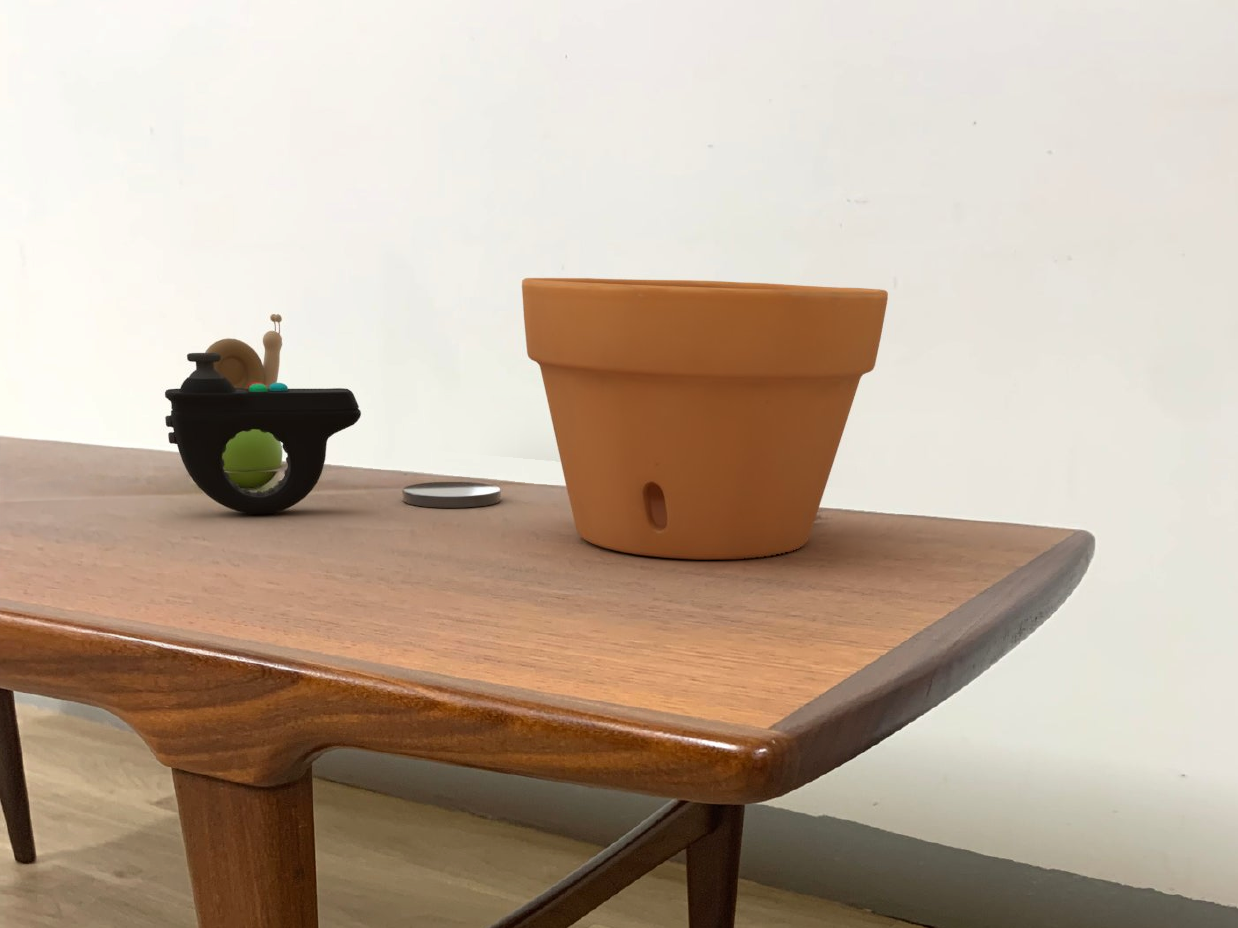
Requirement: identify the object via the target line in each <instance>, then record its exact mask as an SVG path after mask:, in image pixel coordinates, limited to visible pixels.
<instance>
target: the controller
mask: <svg viewBox="0 0 1238 928" xmlns="http://www.w3.org/2000/svg"><path fill="white" fill-rule="evenodd" d="M186 360H187V361H188V362H190V363H195V370H194V371H192V372H191V373H190V374H189V376H188V377H186V378H185V379H184V380H183V382H182V384H181V385H180V388H169V389H165V392H164V397H165V398H166V399H167V400H168V401H169V402H170V404H171V405H170V407H171V409H170V410H171V411H170V415H166V416H165V417H164V418H165V421H164V422H165V426H166V427H167V428H172V429H173V430H172V431H170V432H168V433H167V434H168V436H167V437H168V443H169V444H174V445H176V446H177V449H178V453H179V455H180V458H181V461H182V463H183V465H184V468H185V470H186V471H187V473H188V476H189V477H190V478H191V480H192V481H193V483H195V485H196V486H197V487H198V488H199V490H201V491H202V492H203V493H204V494H205V495H206V496H207V497H208V498H210V499H212V500H213V501H214V502H216V503H217V504H219V505H221V506H223V507H225V508H227V509H231V510H232V511H235V512H239V513H243V514H247V515H250V514H251V515H268V514H276V513H279V512H282V511H285V510H287V509H289V508H291V507H293V506H296V505H297V504H298V503H300V502H301V501H302V500H304V499H305V498H306V497H307V496H308V495H309V494H310V493H311V492H312V491H313V489H314V488H315V486H316V485H317V484H318V482H319V480H320V478H321V476H322V473H323V470H324V466H325V461H326V455H327V445H328V444H327V443H328V440H329V438H331V437H332V436H333V435H335V434H338V433H339V432H341V431H343V430H346V429H347V428H350V427H352V426H355V424H356V423H358V421H359V419H360V418H361V415H362V411H361V409H360V406H359V404H358V401H357V399H356V397H355V394H354V393H353V391H351V390H350V389H348V388H341V387H339V388H336V387H334V388H333V387H332V388H288V385H287V384H285V383H282V382H277V383H273V384H271V385H270V386H269V389H267V387H266V386H265V384H263V383H261V382H252V383H250V384H249V385H248V389H245V388H234V386H233V385H232V384H231V382H230V381H229V380H228V379H227V378H225V377H223V376H222V375H221V374H220V373H219V372H218V371H216V370H215V369H214V362H219V361H220V360H221V355H220V354H218V353H205V352H189V353H187V354H186ZM252 429H257V430H260V431H261V432H264V433H267V432H269V433H271V434H273V436H274V438H275V439H276V440H277V441H281V445H282V450H283V451H284V452H285V454H286V455H287V456H286V457H285V462H286V464H287V466H286V469H285V470H284V472H283V474H284V476H283V477H282V479H280V480H278V481H277V484H276V485H275V486H273V487H269V488H268V489H267V490H263V491H262V490H257V491H251V490H250V489H242V488H240V487H238V484H237V483H233V482H232V481H231V480H230V477H229V474H228V473H227V472H228V471H224V469H223V467H224V466H225V464H224V460H223V459H222V455H223V453H224V452H225V451H226V444H227V443H228V441H229V440H230V439H233V438H235V436H236V434H238V433H240V432H242V431H245V432H248V431H251V430H252Z"/></svg>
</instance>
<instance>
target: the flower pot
mask: <svg viewBox="0 0 1238 928" xmlns="http://www.w3.org/2000/svg"><path fill="white" fill-rule="evenodd" d="M521 292H522V309H523V322H524V323H523V324H524V334H525V345H526V354H527V356H528V358H529V359H530V360H531V361H533V362H536V363H537V365H539V369H540V373H541V377H542V382H543V387H544V391H545V396H546V400H547V405H548V410H549V413H550V419H551V423H552V426H553V431H554V436H555V442H556V446H557V450H558V454H559V459H560V464H561V469H562V473H563V477H564V481H565V487H566V491H567V496H568V500H569V503H570V508H571V512H572V516H573V522H574V525H575V530H576V532H577V534H578V535H579V536H580V537H581V538H582V539H583V540H584V541H586V542H588V543H590V544H592V545H595V546H597V547H601V548H604V549H607V550H611V551H616V552H620V553H626V554H632V555H639V556H647V557H655V558H666V559H679V560H681V559H682V560H744V558H745V559H756V557H758V558H765V557H764V556H766V557H772V556H771V555H773V556H777V555H776V554H779V555H782V554H781V553H783V554H786V553H785V552H788V553H791V552H794V551H797V550H798V549H801V548H802V547H803V546H805V545H806V544H807V542H808V540H809V539H810V536H811V532H812V530H813V527H814V524H815V521H816V518H817V515H818V511H819V508H820V505H821V502H822V499H823V496H824V493H825V489H826V487H827V483H828V481H829V477H830V475H831V471H832V468H833V465H834V462H835V459H836V456H837V452H838V449H839V446H840V445H841V440H842V437H843V434H844V431H845V428H846V425H847V421H848V418H849V415H850V413H851V409H852V406H853V403H854V400H855V397H856V393H857V390H858V387H859V385H860V380H861V379H862V377H863V375H865V374H868V373H871V372H872V371H873V370H874V368H875V367H876V363H877V358H878V353H879V348H880V342H881V339H882V332H883V327H884V322H885V317H886V311H887V306H888V305H887V304H888V300H889V292H888V291H887V290H885V289H881V288H880V289H879V288H867V287H866V288H864V287H835V286H834V287H833V286H818V285H817V286H815V285H797V284H782V283H768V282H767V283H766V282H741V281H740V282H739V281H723V280H692V279H691V280H688V279H687V280H686V279H685V280H684V279H631V278H630V279H629V278H628V279H627V278H624V279H623V278H591V277H590V278H589V277H526V278H524V279H522V281H521ZM800 547H801V548H800ZM796 549H797V550H796ZM793 550H794V551H793Z"/></svg>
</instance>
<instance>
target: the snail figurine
mask: <svg viewBox="0 0 1238 928" xmlns="http://www.w3.org/2000/svg"><path fill="white" fill-rule="evenodd" d="M269 318H270V321H271V322H273V324H274V330H268V331H267V332H265V333H264V334H263V337H262V345H263V348H264V355H263V356H264V357H263V362H262V359H261V358H260V356H259V354H258V352H256V350H255V349H254V348H253V347H252V346H250V345H249V343H247V342H244V341H242V340H240V339H237V338H229V337H228V338H222V339H219V340H217V341H214V342H213V343H212V344H211V345H209V346H208V347H207V349H206V350H205V351H204V353H218V354H220V355H221V360H220V361H219V362H214V369H215V370H216V371H218V372H219V373H220V374H221V375H222V376H223V377H225V378H227V379H228V380H229V381H230V382H231V384H232V385H233V386H234V388H245V389H248V385H249V384H250V383H252V382H261V383H263V384H265V386H266V387H267V389H269V386H270V385H271V384H273V383H278V378H279V372H280V361H281V350H282V347H283V337H282V335H281V322H282V320H283V317H282V316H281V314H279V313H277V314H276V313H272V314H271V315H270V316H269ZM276 323H277V324H278V332H277V326H276V325H277V324H276ZM282 445H283V444H282V442H281V441H277V440H276V439H275V438H274V436H273V434H271V433H269V432H267V433H264V432H261V431H260V430H257V429H252V430H251V431H248V432H245V431H242V432H240V433H238V434H236V436H235V438H233V439H230V440H229V441H228V443H227V444H226V451H225V452H224V453H223V455H222V459H223V460H224V464H225V466H224V467H223V469H224V471H225V472H227V473H228V474H229V477H230V480H231V481H232V482H233V483H237V484H238V487H240V488H242V489H244V490H245V489H248V490H252V489H253V490H254V489H257V488H260V487H262V486H265V485H266V484H268V483H270V481H272V480H273V479H274V477H275V476H276V475H277V474H278V472H279V470H276V469H279V468H281V466H282V463H283V462H282V461H283V447H282Z"/></svg>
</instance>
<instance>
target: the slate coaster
mask: <svg viewBox="0 0 1238 928" xmlns="http://www.w3.org/2000/svg"><path fill="white" fill-rule="evenodd" d="M401 495H402V501H403V502H404V503H405V504H408V505H411V506H417V507H422V508H423V507H424V508H435V509H436V508H437V509H465V508H480V507H486V506H491V505H496V504H498V503H500V502H501V500H502V490H501V488H500V487H498V486H496V485H494V484H493V485H492V484H487V483H481V482H470V481H469V482H468V481H436V482H435V481H433V482H423V483H416V484H415V483H414V484H410V485H407V486H404V487H403V488H402V491H401Z"/></svg>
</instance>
